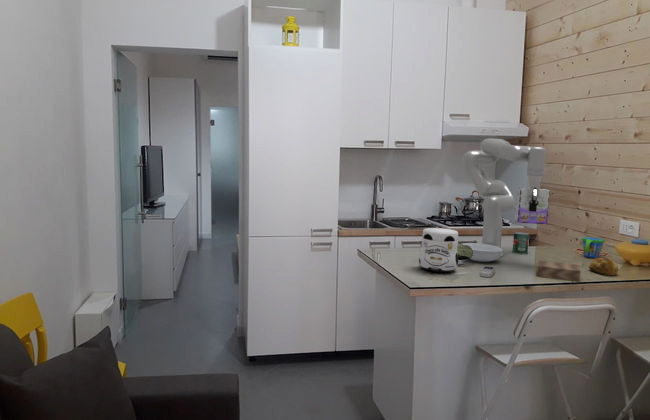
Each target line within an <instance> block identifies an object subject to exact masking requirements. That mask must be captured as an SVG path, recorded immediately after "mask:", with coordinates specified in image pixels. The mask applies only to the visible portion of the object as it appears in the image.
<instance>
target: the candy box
mask: <svg viewBox="0 0 650 420" xmlns="http://www.w3.org/2000/svg"><path fill="white" fill-rule="evenodd" d="M550 194H551V190H550V189H545V188H544V189H541V188H540V192H539V197H537V208H536V212H533V211H529V204H530V199H531V196H529V197H528V189H527V188H523V187H521V188H520V187H519V188H518V187H517V190H516V199H515V202H516V208H515V210H514V222H515V223H516V224H530V225H531V224H533V225H534V224H535V225H547V224H548V215H549V206H550V204H549V203H550ZM532 196H533V195H532ZM537 196H538V194H537Z"/></svg>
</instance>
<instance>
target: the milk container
mask: <svg viewBox="0 0 650 420" xmlns="http://www.w3.org/2000/svg"><path fill="white" fill-rule="evenodd" d="M422 230H423V231H422V240H421V250H420V253H419V255H418V263H419V267H421V268H422V269H423V270H425V271H429V272H435V273H451V272H454V271H456V270H457V268H458V265H459V256H458V255H459V254H458V246H459V241H458V240H459V232H458V231H457V230H454V229H450V228H442V227H441V228H440V227H426V228H423V229H422Z"/></svg>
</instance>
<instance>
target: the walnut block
mask: <svg viewBox="0 0 650 420" xmlns="http://www.w3.org/2000/svg"><path fill="white" fill-rule="evenodd" d="M536 277H540V278H541V277H542V278H549V279H556V280H562V281H563V280H564V281H570V282H580V277H581V269H580V265H579V264H573V263H566V262H565V263H563V262H556V261H548V260H538V262H537V267H536Z"/></svg>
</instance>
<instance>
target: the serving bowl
mask: <svg viewBox="0 0 650 420" xmlns="http://www.w3.org/2000/svg"><path fill="white" fill-rule="evenodd" d="M462 244H463V245H468V246H470V247H471V248H472V250H473V257H472V258H471V260H470V261H474V262H478V263H487V262H492V261H493V262H494V261H496V260H498V259H500V257H502V256H501V254H502V253H503V248H500V247H497V246H492V245H487V244H482V243H479V242H478V243H476V242H466V243H465V242H464V243H462Z"/></svg>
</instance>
